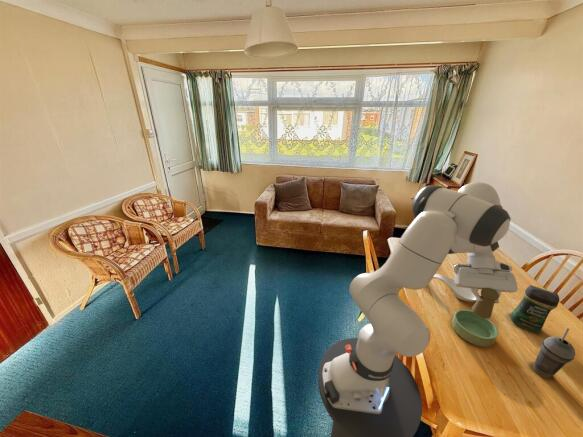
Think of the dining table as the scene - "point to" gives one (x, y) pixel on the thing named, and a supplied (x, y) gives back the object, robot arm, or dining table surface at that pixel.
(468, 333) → the bowl
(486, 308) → the brown peanut shape
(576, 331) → the dining table surface
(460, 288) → the spoon rest
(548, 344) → the beverage cup
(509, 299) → the dining table surface
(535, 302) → the coffee jar
